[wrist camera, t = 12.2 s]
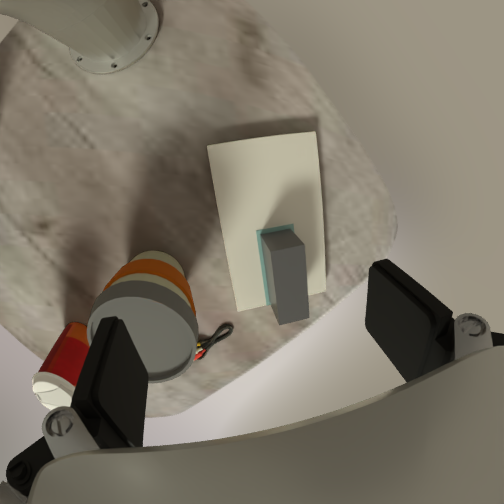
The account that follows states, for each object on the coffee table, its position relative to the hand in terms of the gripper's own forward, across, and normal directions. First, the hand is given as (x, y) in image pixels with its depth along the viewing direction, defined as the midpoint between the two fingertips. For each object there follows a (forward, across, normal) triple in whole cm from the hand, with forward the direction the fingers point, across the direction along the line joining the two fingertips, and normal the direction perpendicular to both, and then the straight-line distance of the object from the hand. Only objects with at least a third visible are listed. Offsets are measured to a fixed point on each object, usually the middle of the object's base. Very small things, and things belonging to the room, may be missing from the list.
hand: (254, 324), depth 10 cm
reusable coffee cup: (+31, +11, +12) cm, 35 cm away
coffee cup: (+31, +28, +20) cm, 46 cm away
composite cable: (+31, +6, +26) cm, 40 cm away
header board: (+30, -7, +7) cm, 32 cm away
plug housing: (+28, -7, +13) cm, 32 cm away
